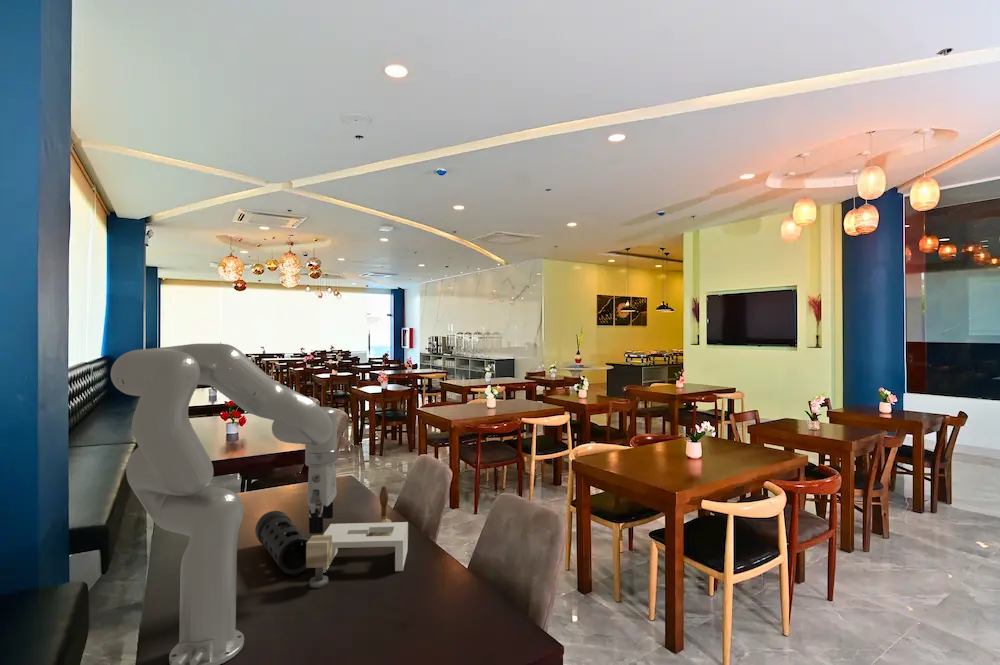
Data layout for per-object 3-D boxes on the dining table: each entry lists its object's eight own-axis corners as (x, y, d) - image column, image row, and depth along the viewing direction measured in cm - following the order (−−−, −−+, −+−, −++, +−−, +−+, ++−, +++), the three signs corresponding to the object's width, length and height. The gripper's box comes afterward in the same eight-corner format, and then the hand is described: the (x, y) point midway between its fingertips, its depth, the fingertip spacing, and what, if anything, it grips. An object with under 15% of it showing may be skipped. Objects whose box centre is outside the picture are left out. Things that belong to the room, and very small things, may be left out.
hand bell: (371, 545, 152) (371, 491, 152) (369, 535, 160) (369, 484, 160) (399, 542, 154) (400, 489, 155) (396, 532, 162) (396, 482, 163)
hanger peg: (326, 588, 125) (327, 542, 125) (305, 589, 124) (306, 543, 125) (331, 579, 130) (332, 534, 130) (311, 580, 129) (312, 535, 130)
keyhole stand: (402, 571, 135) (403, 540, 135) (317, 573, 133) (317, 542, 133) (407, 549, 149) (407, 522, 149) (330, 551, 147) (330, 523, 147)
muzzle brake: (276, 583, 128) (277, 541, 128) (253, 547, 150) (253, 512, 150) (315, 573, 133) (316, 533, 134) (287, 540, 156) (287, 506, 156)
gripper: (328, 465, 120) (328, 538, 120) (344, 448, 137) (344, 512, 137) (295, 466, 119) (295, 540, 119) (315, 449, 136) (315, 513, 136)
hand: (321, 525), depth 128 cm, fingers open, 9 cm apart
